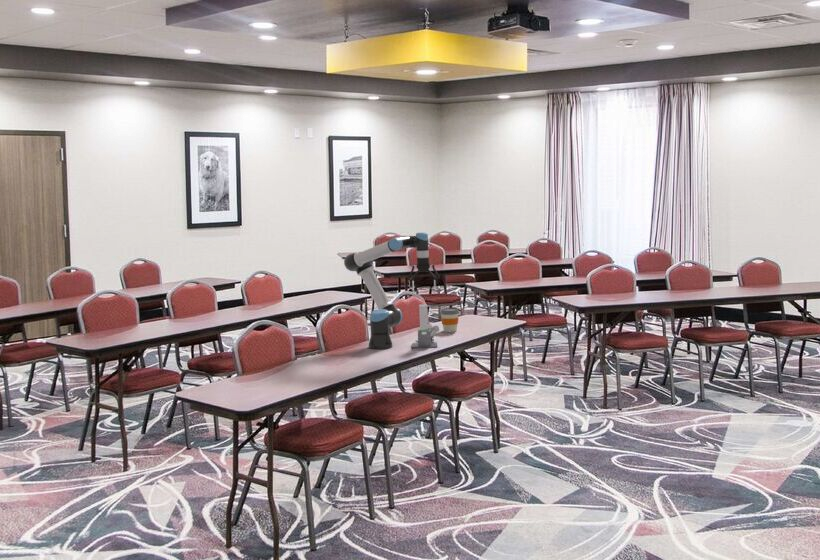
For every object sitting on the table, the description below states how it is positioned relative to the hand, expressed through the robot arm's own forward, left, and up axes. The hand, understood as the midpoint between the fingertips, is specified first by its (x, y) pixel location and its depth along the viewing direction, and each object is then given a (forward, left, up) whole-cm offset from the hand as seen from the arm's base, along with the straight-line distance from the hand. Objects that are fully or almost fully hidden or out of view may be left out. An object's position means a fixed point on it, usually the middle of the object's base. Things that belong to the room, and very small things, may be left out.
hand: (424, 290), depth 547 cm
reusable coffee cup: (+17, +50, -35) cm, 64 cm away
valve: (0, +16, -36) cm, 39 cm away
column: (-1, -1, -27) cm, 27 cm away
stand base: (-1, -1, -35) cm, 35 cm away
